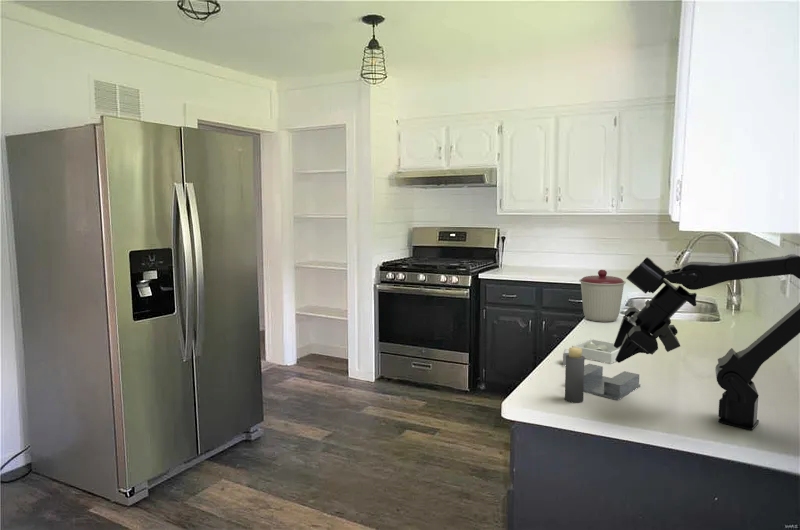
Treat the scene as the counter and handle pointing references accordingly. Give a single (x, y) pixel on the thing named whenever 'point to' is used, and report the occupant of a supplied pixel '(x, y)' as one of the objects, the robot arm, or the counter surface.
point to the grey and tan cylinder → (574, 375)
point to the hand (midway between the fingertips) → (616, 353)
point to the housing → (609, 382)
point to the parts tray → (597, 354)
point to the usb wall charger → (566, 352)
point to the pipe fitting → (594, 347)
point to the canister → (601, 296)
